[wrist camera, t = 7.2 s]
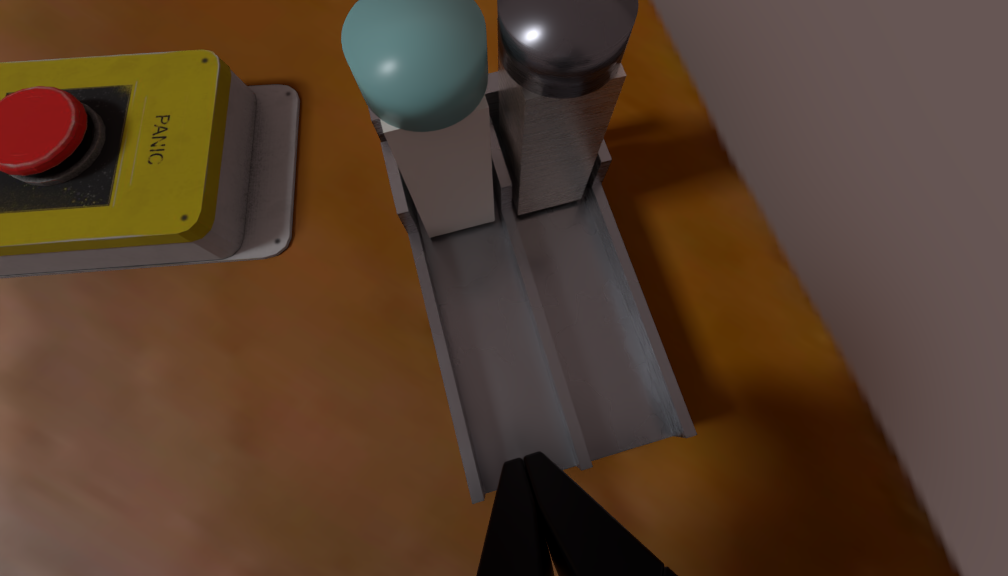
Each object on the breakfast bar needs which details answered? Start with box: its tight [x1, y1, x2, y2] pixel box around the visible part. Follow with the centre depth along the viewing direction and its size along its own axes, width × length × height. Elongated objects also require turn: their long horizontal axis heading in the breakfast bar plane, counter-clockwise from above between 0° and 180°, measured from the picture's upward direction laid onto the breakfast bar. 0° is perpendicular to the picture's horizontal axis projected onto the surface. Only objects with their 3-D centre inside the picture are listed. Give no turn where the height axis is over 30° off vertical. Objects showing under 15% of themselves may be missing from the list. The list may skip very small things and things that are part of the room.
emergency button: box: [0, 50, 300, 278], centre depth 19 cm, size 9×4×15 cm
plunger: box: [341, 0, 495, 238], centre depth 14 cm, size 3×3×8 cm
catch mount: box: [368, 0, 697, 504], centre depth 14 cm, size 14×8×10 cm, turn 16°
